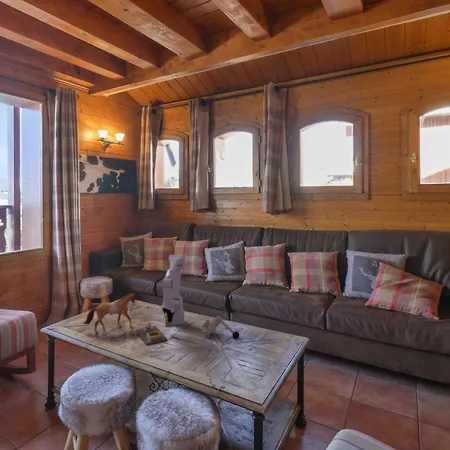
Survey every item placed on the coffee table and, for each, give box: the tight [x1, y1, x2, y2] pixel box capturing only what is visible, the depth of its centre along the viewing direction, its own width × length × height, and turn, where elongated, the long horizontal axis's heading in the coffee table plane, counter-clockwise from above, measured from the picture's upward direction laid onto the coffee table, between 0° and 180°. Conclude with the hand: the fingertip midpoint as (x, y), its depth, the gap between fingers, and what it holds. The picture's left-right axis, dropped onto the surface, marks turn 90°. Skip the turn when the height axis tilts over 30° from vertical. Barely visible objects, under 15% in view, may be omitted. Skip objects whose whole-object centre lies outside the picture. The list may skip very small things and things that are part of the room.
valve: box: [202, 315, 240, 340], centre depth 188 cm, size 10×20×15 cm
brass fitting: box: [164, 312, 173, 328], centre depth 191 cm, size 4×4×8 cm
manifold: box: [135, 321, 168, 346], centre depth 188 cm, size 12×21×6 cm, turn 31°
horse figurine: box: [82, 292, 137, 334], centre depth 195 cm, size 31×8×21 cm, turn 117°
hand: (168, 320), depth 191 cm, fingers closed on brass fitting, 4 cm apart
